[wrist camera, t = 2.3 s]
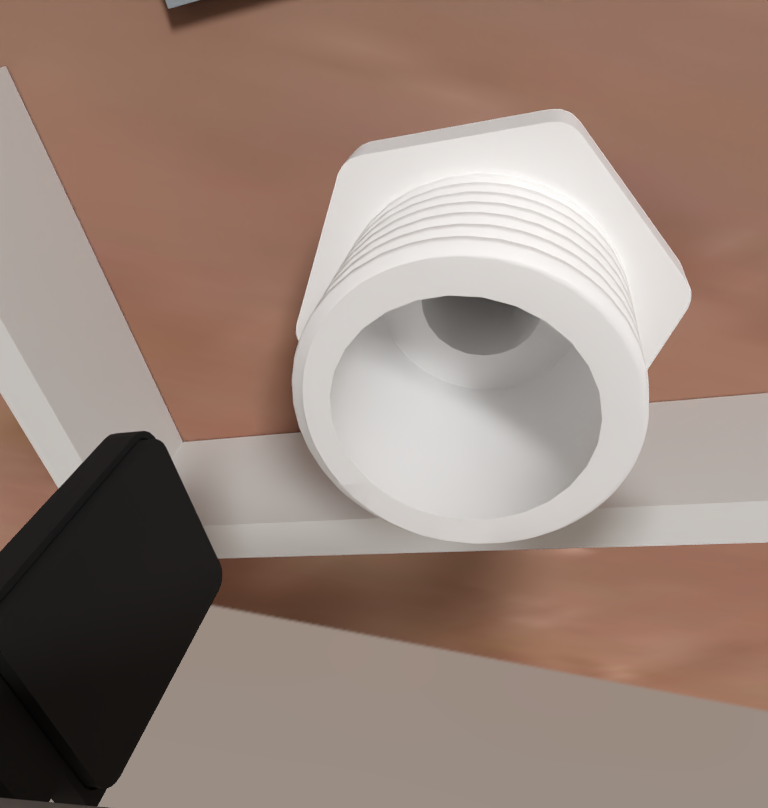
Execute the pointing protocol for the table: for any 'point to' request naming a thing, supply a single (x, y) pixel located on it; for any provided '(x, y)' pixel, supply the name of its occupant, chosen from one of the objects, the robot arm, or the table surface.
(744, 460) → the frame
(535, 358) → the pipe fitting
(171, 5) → the mat
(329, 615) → the table surface
